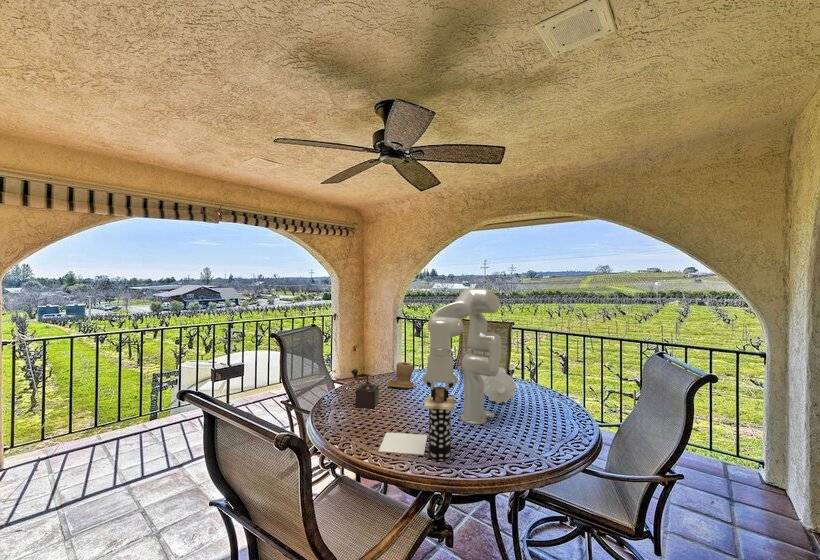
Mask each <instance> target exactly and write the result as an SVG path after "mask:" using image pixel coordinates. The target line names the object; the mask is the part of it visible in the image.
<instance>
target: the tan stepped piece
mask: <svg viewBox="0 0 820 560" xmlns="http://www.w3.org/2000/svg"><path fill="white" fill-rule="evenodd" d="M395 366H396V379H394V380H389V381H388V383H387V386H388V387H392V388H400V389H411V388H413V387H414V383H413V382H411V378H412V374H413V372H414V366H413V364H412V363H410V362H401V361H400V362H397V364H396V365H395Z"/></svg>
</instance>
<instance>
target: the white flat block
mask: <svg viewBox="0 0 820 560" xmlns="http://www.w3.org/2000/svg"><path fill="white" fill-rule="evenodd" d="M427 438H428V434H418V433H404V432H403V433H400V432H386V433H385V434H384V437H383V439H382V441H381V444H380V445H379V448H378V450H377V451H378V453H387V454H401V455H411V456H413V455H416V456H425V452H426V445H427Z"/></svg>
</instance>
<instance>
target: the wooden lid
mask: <svg viewBox="0 0 820 560" xmlns="http://www.w3.org/2000/svg"><path fill="white" fill-rule="evenodd" d="M434 387H435V400H433V397H431V394H430V395H428V394H427V395H426V397H425V400H424V401H425V402H424V407H423V408H424V409H428V410H429V409H446V410H452V411H454V410H455V396H452V395H451V396H450V395H449V398H447V401H445V387H446V386H445V387H444V386H434Z"/></svg>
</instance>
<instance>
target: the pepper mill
mask: <svg viewBox="0 0 820 560" xmlns="http://www.w3.org/2000/svg"><path fill="white" fill-rule="evenodd" d="M358 373H359V370H358V368H353V369H352V370H351V375H352V377H353V378H354V380H355V381H365V380H366V383H365V384H363V383H362V384H360V385H359V386H358V387H357V389H356V390H355V409H361V408H366V409H365V410H374V409H376V408H377V406H378V405H377V404H379V401H380V399H379V395H380V394H379V393H380V392H379V391H380V390H379V386H380V385H378V384H377V385H375V384H373V383H371V382H370V381H369V378H370V377H369V374H366V375H365V376H366V377H362V378H358V377H359V375H358ZM375 407H376V408H375Z"/></svg>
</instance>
